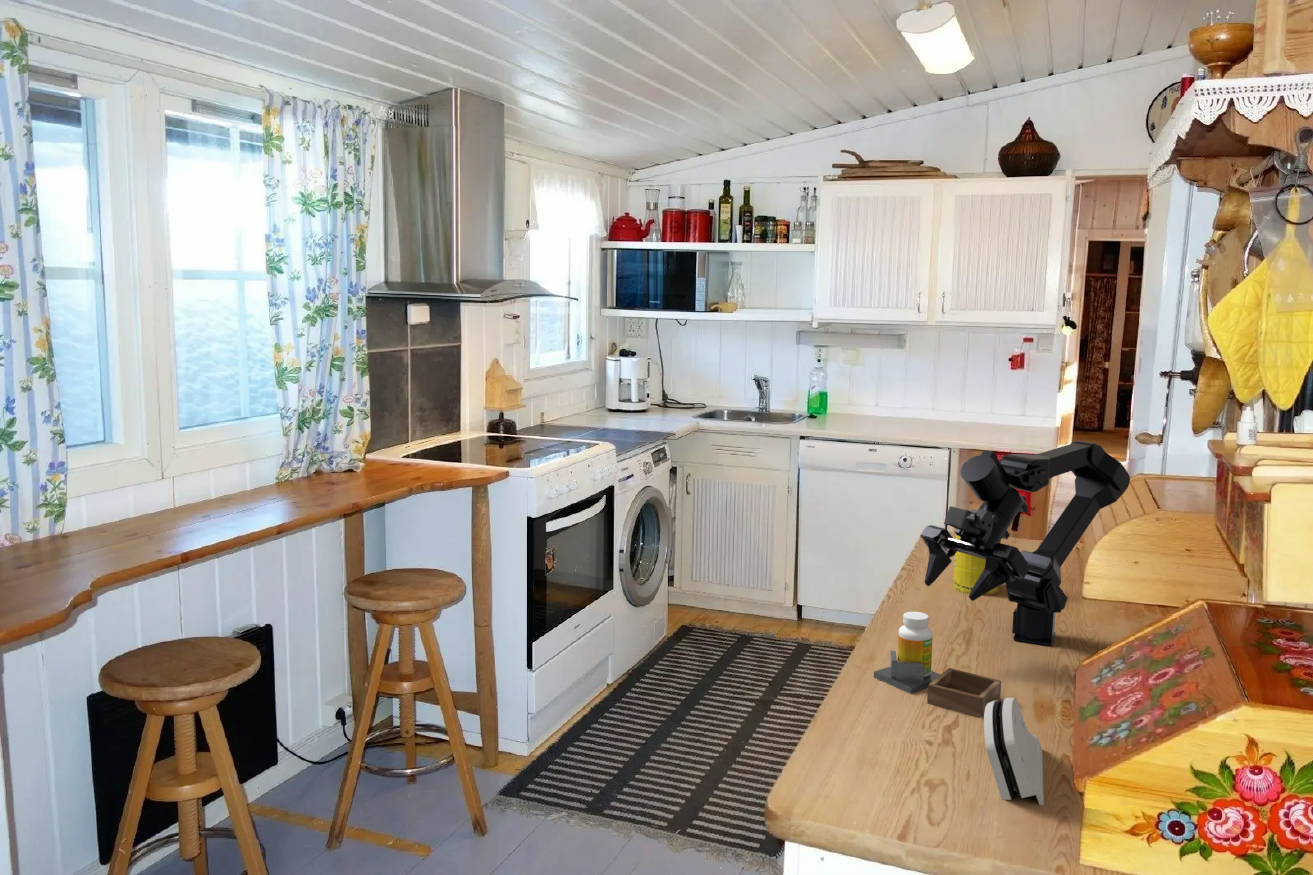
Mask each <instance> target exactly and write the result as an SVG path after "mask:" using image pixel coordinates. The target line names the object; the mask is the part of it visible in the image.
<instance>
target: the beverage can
mask: <svg viewBox="0 0 1313 875" xmlns="http://www.w3.org/2000/svg"><path fill="white" fill-rule="evenodd" d="M960 538H961V537H960V536H957V534H956V533H955V538H954V539H957V540H960ZM999 543H1002V540H1001V541H1000V542H999ZM953 558H954V565H953V581H952V582H953V585H952V587H953V589H954V590H956V591H958V592H960V593H962V594H963V593H964V594H968V595H970V593H971V590H972V588H973V587H974V585H975V583H976V582H977V580H978V578H979V577H980V575H981V573H982V572H983V570H984V568H985V562H986V559H983V558H979V557H976V556H972V555H968V554H965V553H961V552H958V551H957V552H956V554H955V555H954V557H953ZM998 592H999V586H998V587H996V588H994V589H992V590H990V591H989V592H987V593H985V594H984V595H983V596H988V595H989V596H990V595H993V594H996V593H998Z"/></svg>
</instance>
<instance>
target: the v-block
mask: <svg viewBox="0 0 1313 875" xmlns="http://www.w3.org/2000/svg"><path fill="white" fill-rule="evenodd" d="M889 659H890V660H889V666H887V667H884V668H880V669H879V670H874V671H873V678H874V679H876V678H877V680H878V679H879V681H881V682H884V683H885V682H887V683H886V684H888V683H889V684H888V685H890V686H893V687H894V688H897V689H899V690H901V691H904V692H906V693H907V694H911V695H912V694H914V693H918V692H920V691H921V692H922V691H923V690H926V689H927V690H928V684H930V683H931V682H932V681H933V680H935V679H936V678H937V677H938V676H940V675H941V674H942V673H938V672H935V671H933V670H931V674H930V675H929V676H927V677H924V662H910V661H898V657H897V652H896V650H890V657H889Z"/></svg>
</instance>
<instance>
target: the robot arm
mask: <svg viewBox="0 0 1313 875" xmlns="http://www.w3.org/2000/svg"><path fill="white" fill-rule="evenodd" d="M1069 472H1072V474H1073V475H1074V477H1075V479H1074V487H1075V488H1074V490H1075V494H1074V495H1073V497H1072V499H1071V500H1070V501H1069V503H1067V506H1065V508H1064V510H1063V511H1062V512H1061V514H1060V516H1058V519H1057V520H1056V522H1055V523H1054V524H1053V526H1052V527H1051V528H1050V530H1049V531H1048V533H1047V534H1046V536H1045V537H1044V538H1043V540H1042V541H1041V543H1040V544H1039V546H1038V547H1037V548H1036V550H1034V551H1033V552H1030V551H1027V550H1021V551H1020V549H1019V548H1018V547H1016V546H1013V545H1009V544H1006V543H1002V539H1004V540H1008V539H1009V538H1010V535H1011V534H1010V532H1009V531H1008V529H1009V528H1010V526H1011V524H1012V523H1013V521H1014V519H1015V517H1016V516H1017V514H1018V513H1019V512H1020V513H1024V514H1027V513H1028V512H1029V506H1028V503H1027V497H1026V496H1023V495H1021V494H1020V492H1019V491H1018V490H1021V491H1026V492H1030V493H1036V492H1038V491H1040V490H1042V489H1043V488H1045V487H1046V486H1048V485H1049V484H1050V479H1052V478H1054V477H1058V476H1060V475H1063V474H1066V473H1069ZM959 473H960V476H961V478H962V479H963V481H964V482H965V483H966V485H967V487H968V488H969V490H970V491H971V492H972V493H973V494H974V496H975V498H977V500H978V501H979V500H980V501H982V503H981V504H980V506H979V507H978V509H977V510H976V509H971V510H968V509H963V508H959V507H955V506H948V507H949V508H948V510H947V512H946V516H945V519H944V522H943V525H944V526H950V527H952V528H954V529H955V530H954V533H955V535H956V534H957V536H960V537H961V538H960V540H957V539H955V538H954V537H953V535H952V534H951V532H949V530H948V529H947V528H944V527H940V526H935V525H932V524H931V525H930V524H929V525H926V526H925V527H924V529H923V531H922V532H921V533H920V535H919V537H920V538H921V539H922V540H923V543H924V544H925V545H926V547H927V548H928V561H927V562H928V563H927V567H926V572H925V579H924V585H925V586H927V587H930V586H931V585H933V583H935V581H936V580H937V579H938V578H939V577H940V576H941V575H942V574H943V572H944V571H945V570H946V569H947V568H948V566H949V565H950V564H951V563H952V559H951V558H952V557H955V554H956V552H957V551H958V552H961V553H965V554H968V555H972V556H976V557H979V558H983V559H986V562H985V568H984V570H983V572H982V573H981V575H980V577H979V578H978V580H977V582H976V583H975V585H974V587H973V588H972V590H971V593H970V594H968V599H969V600H971V601H972V602H974V601H976V600H977V599H979V598H981V597H982V596H985V595H984V594H985V593H987V592H989V591H990V590H992V589H994V588H996V587H998V588H999V587H1000V586H1002V585H1004V584H1005V588H1006V593H1007V597H1008V601H1009V602H1010V603H1015V604H1017V605H1016V607H1015V609H1014V611H1013V613H1012V626H1011V627H1012V628H1011V629H1012V631H1011V633H1012V634H1013V640H1014V641H1017V642H1018V641H1019V642H1025V643H1031V644H1035V645H1036V644H1038V645H1044V646H1052V645H1053V643H1054V639H1055V637H1056V631H1055V624H1056V613H1058V614H1059V613H1062V610H1065V609H1066V604H1067V601H1068V596H1067V595H1066V594H1065V592H1064V591H1063V589H1062V588H1061V587H1060V586H1061V584H1062V574H1061V573H1062V571H1061V570H1062V569H1061V568H1062V565H1063V564H1064V562H1066V560H1067V558H1068V557H1069V555H1070V554H1071V553H1072V551H1073V550H1074V549H1075V547H1076V545H1077V543H1078V542H1079V541H1080V539H1081V537H1082V536H1083V535H1084V534H1085V532H1086V530H1087V529H1088V527H1089V526H1090V524H1092V521H1093V520H1094V519H1095V517H1096V516H1097V514H1098V513H1099V511H1100V510H1102V509H1103V508H1106V507H1109V506H1110V505H1112V504H1114V503H1116V502H1117V501H1118V500H1119V499H1120V498H1121V497H1122V496H1123V494H1125V492H1126V491H1127V490H1128V489H1129V485H1130V482H1131V476H1130V474H1129V472H1128V471H1127V469H1126V467H1125V466H1124V465H1123V464H1122V462H1120V461H1119V460H1117V459H1116V458H1115V457H1113V455H1110V454H1108V453H1107V452H1106V451H1105V449H1104V448H1103V447H1102V446H1101V445H1099V444H1098V443H1095V442H1089V441H1084V440H1083V441H1082V440H1075V441H1072V442H1070V444H1067V445H1066V444H1065V445H1063V446H1060V447H1059V446H1058V447H1056V448H1053V449H1049V450H1047V451H1044V452H1043V451H1042V452H1040V453H1036V454H1028V453H1027V454H1026V453H1009V454H1008V453H1007V454H1006V455H1004V456H1003V457H1002V458H1001V459H1000V460H999V459H998V456H997V454H996V453H995V451H991V450H985V449H984V450H983V451H982V452H981V454H978V455H975V456H973V457H971V458H970V459H968V460H967V461H965V462H964V463H962V466H961V468H960V472H959ZM1000 541H1001V543H999V542H1000Z"/></svg>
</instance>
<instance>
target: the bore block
mask: <svg viewBox="0 0 1313 875" xmlns="http://www.w3.org/2000/svg"><path fill="white" fill-rule="evenodd" d="M940 674H941V675H940V676H938V677H937V678H936V679H935V680H933V681H932V682H931V683H930V684H928V688H927V698H926V699H927V700H926V704H929V705H932V706H937V707H939V708H943V709H948V710H951V711H955V712H959V713H963V714H964V715H965V714H966V715H969V716H972V717H973V716H974V717H977V718H982V717H984V712H985V707H986V705H987V704H988V703H990V702H992V701H995V700H998V701H1001V695H1002V694H1001V693H1002V680H1000V679H995V678H991V677H988V676H983V675H979V674H975V673H972V672H967V671H963V670H958V669H956V668H951V667H948V668H947V669H946V670H944V671H943V672H942V673H940Z"/></svg>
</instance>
